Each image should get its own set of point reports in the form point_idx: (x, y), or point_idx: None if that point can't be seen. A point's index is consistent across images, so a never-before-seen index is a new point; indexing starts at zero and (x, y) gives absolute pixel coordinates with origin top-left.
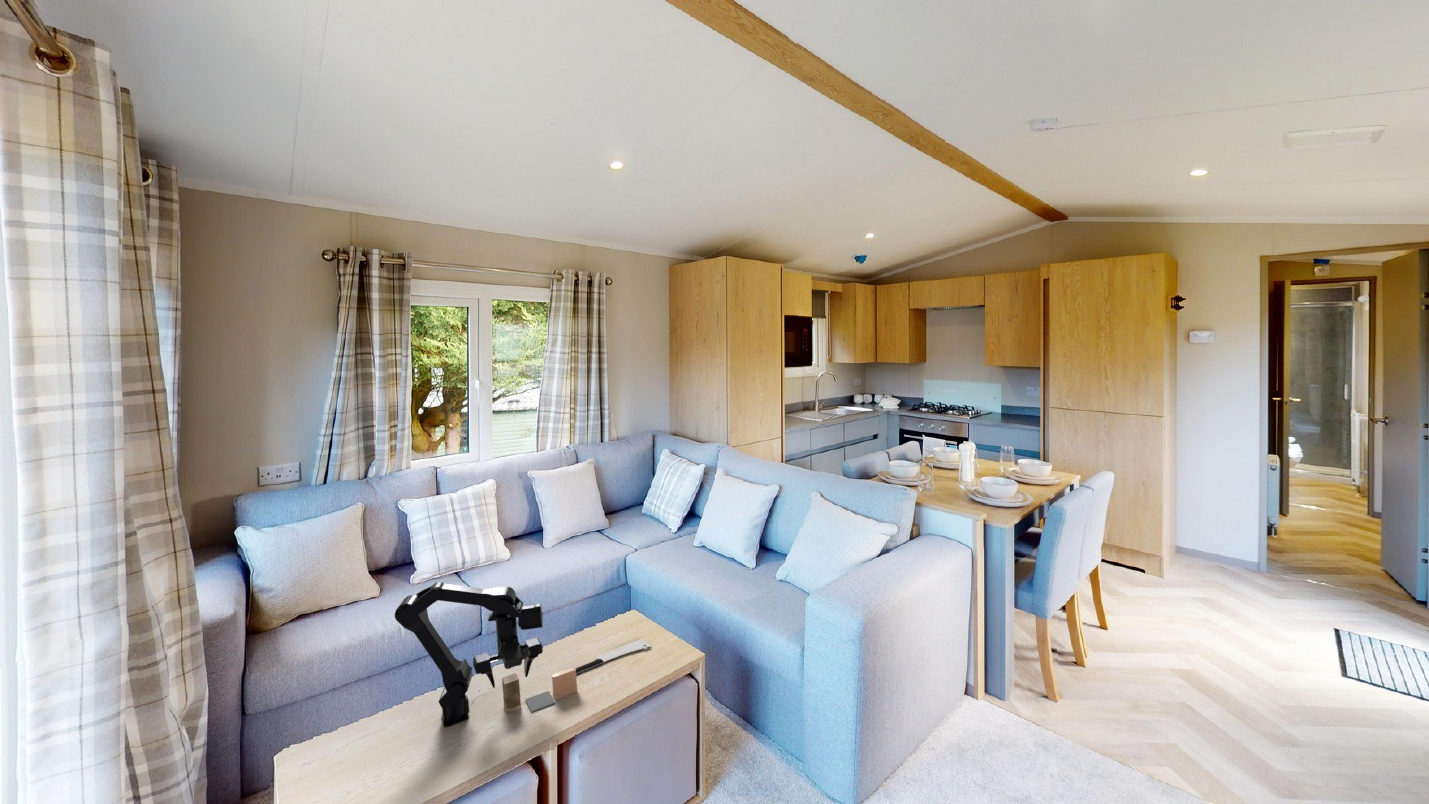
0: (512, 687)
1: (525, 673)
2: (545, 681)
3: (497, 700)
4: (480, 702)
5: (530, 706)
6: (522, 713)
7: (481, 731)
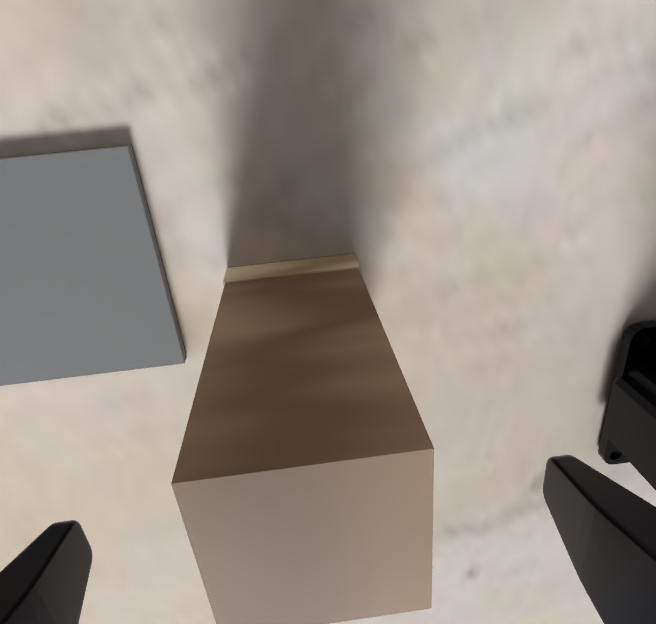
0: (297, 397)
1: (50, 587)
2: (25, 513)
3: None
4: (498, 466)
5: (137, 235)
6: (219, 181)
7: (601, 99)
